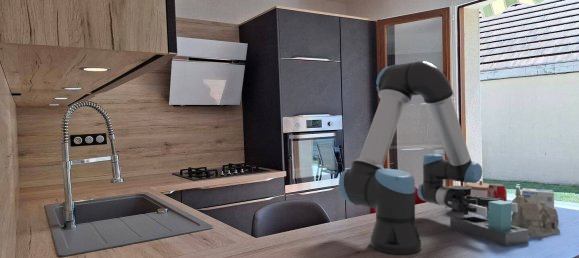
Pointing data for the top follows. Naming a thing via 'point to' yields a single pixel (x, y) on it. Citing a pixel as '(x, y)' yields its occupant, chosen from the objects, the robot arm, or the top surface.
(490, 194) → the soda can
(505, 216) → the teal peg
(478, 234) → the grey block with holes
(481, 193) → the lidded bowl
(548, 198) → the light bulb box
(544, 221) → the ceramic cottage
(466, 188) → the coffee mug
